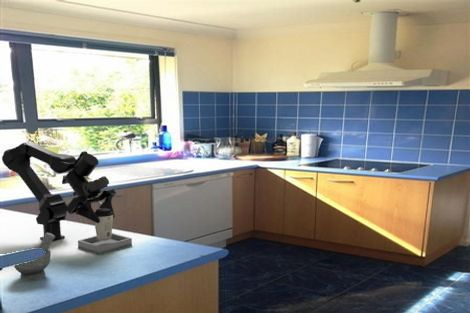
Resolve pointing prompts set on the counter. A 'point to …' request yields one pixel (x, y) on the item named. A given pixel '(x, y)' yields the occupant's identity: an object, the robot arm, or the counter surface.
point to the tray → (104, 244)
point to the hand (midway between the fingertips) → (106, 219)
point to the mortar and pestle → (36, 262)
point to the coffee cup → (104, 224)
